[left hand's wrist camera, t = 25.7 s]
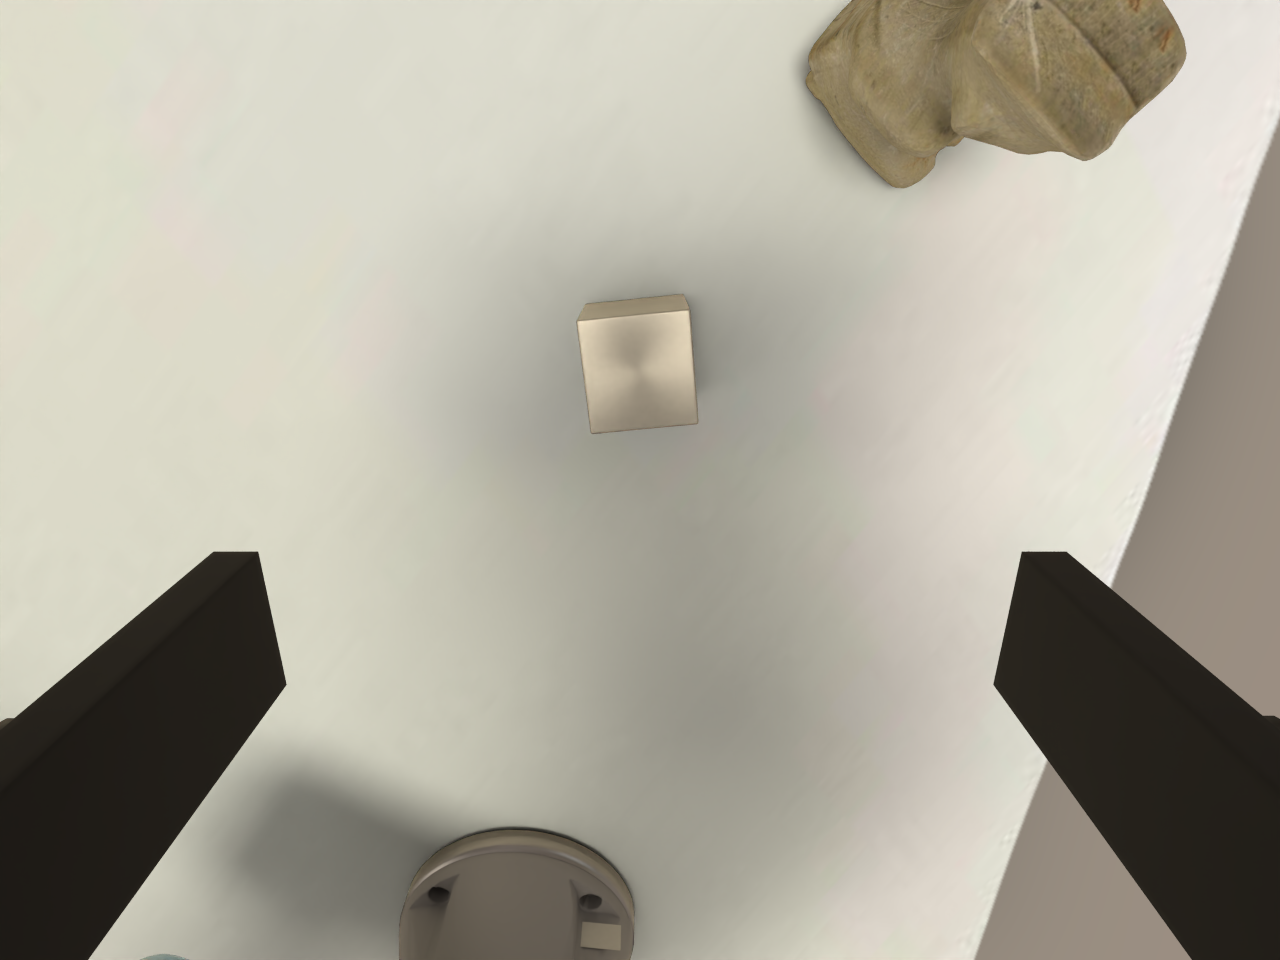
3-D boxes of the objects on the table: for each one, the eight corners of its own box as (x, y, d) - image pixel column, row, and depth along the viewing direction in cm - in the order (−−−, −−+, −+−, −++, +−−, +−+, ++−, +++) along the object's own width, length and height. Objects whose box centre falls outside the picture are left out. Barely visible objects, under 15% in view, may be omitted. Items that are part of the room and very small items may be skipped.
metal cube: (683, 293, 34) (690, 308, 30) (691, 395, 36) (698, 424, 31) (584, 303, 34) (575, 320, 30) (597, 404, 36) (590, 434, 32)
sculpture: (877, 212, 33) (1052, 226, 19) (768, 87, 31) (874, -1, 17) (982, 108, 31) (1259, 38, 17) (875, -30, 29) (1087, -232, 15)
